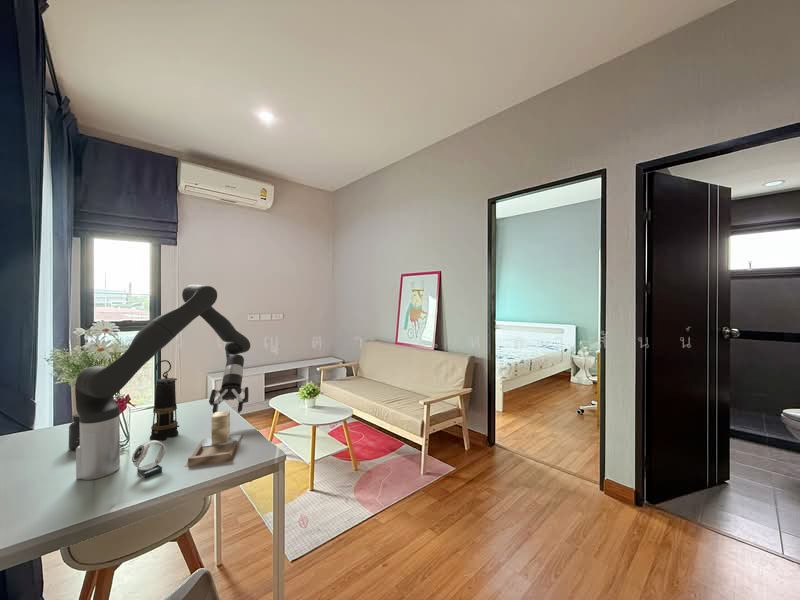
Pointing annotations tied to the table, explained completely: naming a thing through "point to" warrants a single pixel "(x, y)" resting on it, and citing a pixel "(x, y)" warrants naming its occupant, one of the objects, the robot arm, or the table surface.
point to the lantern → (164, 408)
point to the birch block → (220, 427)
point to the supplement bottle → (74, 433)
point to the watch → (153, 467)
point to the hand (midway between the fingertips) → (227, 413)
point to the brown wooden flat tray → (214, 451)
